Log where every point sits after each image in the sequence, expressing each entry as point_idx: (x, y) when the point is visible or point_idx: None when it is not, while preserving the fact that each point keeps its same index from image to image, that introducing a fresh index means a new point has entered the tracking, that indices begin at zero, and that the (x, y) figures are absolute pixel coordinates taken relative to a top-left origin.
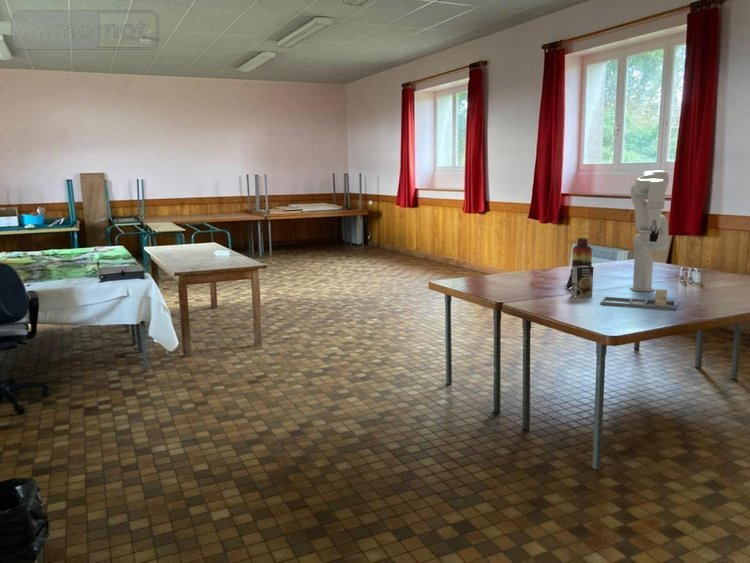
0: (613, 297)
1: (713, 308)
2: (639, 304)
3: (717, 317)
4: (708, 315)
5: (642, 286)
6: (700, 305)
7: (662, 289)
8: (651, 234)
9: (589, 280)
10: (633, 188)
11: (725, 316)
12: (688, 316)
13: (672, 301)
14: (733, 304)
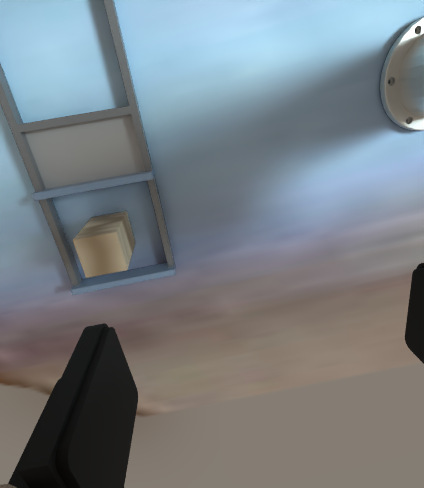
0: (110, 11)
1: (177, 355)
2: (29, 173)
3: None
4: None
5: (406, 83)
6: (202, 321)
7: (120, 254)
8: (41, 471)
9: None
10: None
11: None
12: (13, 335)
13: (168, 258)
14: (260, 376)
